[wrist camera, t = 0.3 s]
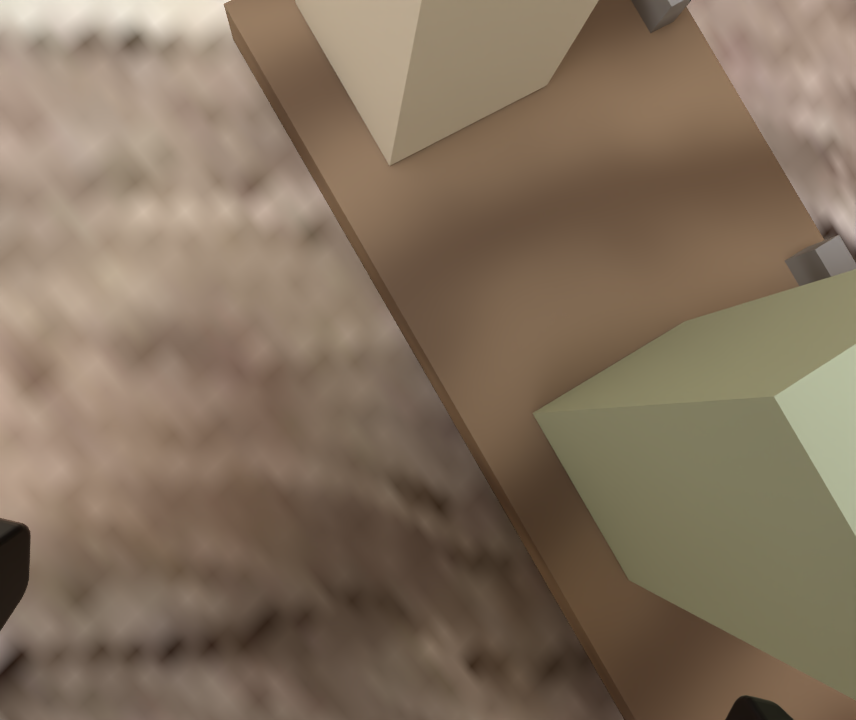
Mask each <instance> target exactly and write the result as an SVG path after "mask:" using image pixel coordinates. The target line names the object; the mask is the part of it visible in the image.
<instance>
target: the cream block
mask: <svg viewBox="0 0 856 720" xmlns="http://www.w3.org/2000/svg"><path fill="white" fill-rule="evenodd" d="M598 1H599V0H295V2H296V5H297V7H298V8H299V10H300V12H301V13H302V15H303V17H304V19H305V20H306V22H307V24H308V26H309V27H310V29H311V31H312V33H313V34H314V36H315V38H316V39H317V41H318V43H319V45H320V46H321V48H322V50H323V52H324V53H325V55H326V57H327V58H328V60H329V62H330V64H331V65H332V67H333V69H334V71H335V72H336V74H337V76H338V78H339V79H340V81H341V83H342V84H343V86H344V88H345V90H346V91H347V93H348V95H349V97H350V98H351V100H352V102H353V103H354V105H355V107H356V109H357V110H358V112H359V114H360V116H361V117H362V119H363V121H364V123H365V124H366V126H367V128H368V129H369V131H370V133H371V135H372V136H373V138H374V140H375V142H376V143H377V145H378V147H379V148H380V150H381V152H382V154H383V155H384V157H385V159H386V161H387V162H388V164H389V166H390V165H392V164H394V163H396V162H398V161H400V160H402V159H404V158H406V157H408V156H410V155H412V154H414V153H416V152H418V151H420V150H422V149H424V148H426V147H427V146H429V145H431V144H433V143H435V142H437V141H439V140H441V139H443V138H445V137H447V136H449V135H451V134H453V133H455V132H457V131H459V130H461V129H463V128H465V127H466V126H468V125H470V124H472V123H474V122H476V121H478V120H480V119H482V118H484V117H486V116H488V115H490V114H492V113H494V112H496V111H498V110H500V109H502V108H504V107H506V106H507V105H509V104H511V103H513V102H515V101H517V100H519V99H521V98H523V97H525V96H527V95H529V94H531V93H533V92H535V91H537V90H539V89H541V88H543V87H545V86H546V85H547V84H548V83H549V81H550V79H551V78H552V76H553V75H554V73H555V71H556V70H557V68H558V66H559V65H560V63H561V61H562V60H563V58H564V56H565V55H566V53H567V52H568V50H569V48H570V47H571V45H572V43H573V42H574V40H575V38H576V37H577V35H578V34H579V32H580V30H581V29H582V27H583V25H584V24H585V22H586V20H587V19H588V17H589V15H590V14H591V12H592V11H593V9H594V7H595V6H596V4H597V2H598Z"/></svg>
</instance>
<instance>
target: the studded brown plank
mask: <svg viewBox="0 0 856 720" xmlns="http://www.w3.org/2000/svg"><path fill="white" fill-rule="evenodd" d="M690 1H691V0H599V1H598V2H597V4H596V6H595V7H594V9H593V11H592V12H591V14H590V15H589V17H588V19H587V20H586V22H585V24H584V25H583V27H582V29H581V30H580V32H579V34H578V35H577V37H576V38H575V40H574V42H573V43H572V45H571V47H570V48H569V50H568V52H567V53H566V55H565V56H564V58H563V60H562V61H561V63H560V65H559V66H558V68H557V70H556V71H555V73H554V75H553V76H552V78H551V79H550V81H549V83H548V84H547V85H546V86H545V87H543V88H541V89H539V90H537V91H535V92H533V93H531V94H529V95H527V96H525V97H523V98H521V99H519V100H517V101H515V102H513V103H511V104H509V105H507V106H506V107H504V108H502V109H500V110H498V111H496V112H494V113H492V114H490V115H488V116H486V117H484V118H482V119H480V120H478V121H476V122H474V123H472V124H470V125H468V126H466V127H465V128H463V129H461V130H459V131H457V132H455V133H453V134H451V135H449V136H447V137H445V138H443V139H441V140H439V141H437V142H435V143H433V144H431V145H429V146H427V147H426V148H424V149H422V150H420V151H418V152H416V153H414V154H412V155H410V156H408V157H406V158H404V159H402V160H400V161H398V162H396V163H394V164H392V165H390V166H389V164H388V162H387V161H386V159H385V157H384V155H383V154H382V152H381V150H380V148H379V147H378V145H377V143H376V142H375V140H374V138H373V136H372V135H371V133H370V131H369V129H368V128H367V126H366V124H365V123H364V121H363V119H362V117H361V116H360V114H359V112H358V110H357V109H356V107H355V105H354V103H353V102H352V100H351V98H350V97H349V95H348V93H347V91H346V90H345V88H344V86H343V84H342V83H341V81H340V79H339V78H338V76H337V74H336V72H335V71H334V69H333V67H332V65H331V64H330V62H329V60H328V58H327V57H326V55H325V53H324V52H323V50H322V48H321V46H320V45H319V43H318V41H317V39H316V38H315V36H314V34H313V33H312V31H311V29H310V27H309V26H308V24H307V22H306V20H305V19H304V17H303V15H302V13H301V12H300V10H299V8H298V7H297V5H296V2H295V0H231V1H229V2H227V3H225V4H224V7H225V10H226V14H227V18H228V21H229V25H230V29H231V32H232V36H233V40H234V41H235V43H236V45H237V47H238V48H239V50H240V52H241V54H242V55H243V57H244V59H245V61H246V62H247V64H248V66H249V67H250V69H251V71H252V73H253V74H254V76H255V78H256V80H257V81H258V83H259V85H260V87H261V88H262V90H263V92H264V94H265V95H266V97H267V99H268V101H269V102H270V104H271V106H272V107H273V109H274V111H275V113H276V114H277V116H278V118H279V120H280V121H281V123H282V125H283V127H284V128H285V130H286V132H287V134H288V135H289V137H290V139H291V141H292V142H293V144H294V146H295V147H296V149H297V151H298V153H299V154H300V156H301V158H302V160H303V161H304V163H305V165H306V167H307V168H308V170H309V172H310V174H311V175H312V177H313V179H314V181H315V182H316V184H317V186H318V187H319V189H320V191H321V193H322V194H323V196H324V198H325V200H326V201H327V203H328V205H329V207H330V208H331V210H332V212H333V214H334V215H335V217H336V219H337V221H338V222H339V224H340V226H341V227H342V229H343V231H344V233H345V234H346V236H347V238H348V240H349V241H350V243H351V245H352V247H353V248H354V250H355V252H356V254H357V255H358V257H359V259H360V261H361V262H362V264H363V266H364V268H365V269H366V271H367V273H368V274H369V276H370V278H371V280H372V281H373V283H374V285H375V287H376V288H377V290H378V292H379V294H380V295H381V297H382V299H383V301H384V302H385V304H386V306H387V308H388V309H389V311H390V313H391V314H392V316H393V318H394V320H395V321H396V323H397V325H398V327H399V328H400V330H401V332H402V334H403V335H404V337H405V339H406V341H407V342H408V344H409V346H410V348H411V349H412V351H413V353H414V354H415V356H416V358H417V360H418V361H419V363H420V365H421V367H422V368H423V370H424V372H425V374H426V375H427V377H428V379H429V381H430V382H431V384H432V386H433V388H434V389H435V391H436V393H437V394H438V396H439V398H440V400H441V401H442V403H443V405H444V407H445V408H446V410H447V412H448V414H449V415H450V417H451V419H452V421H453V422H454V424H455V426H456V428H457V429H458V431H459V433H460V434H461V436H462V438H463V440H464V441H465V443H466V445H467V447H468V448H469V450H470V452H471V454H472V455H473V457H474V459H475V461H476V462H477V464H478V466H479V468H480V469H481V471H482V473H483V474H484V476H485V478H486V480H487V481H488V483H489V485H490V487H491V488H492V490H493V492H494V494H495V495H496V497H497V499H498V501H499V502H500V504H501V506H502V508H503V509H504V511H505V513H506V514H507V516H508V518H509V520H510V521H511V523H512V525H513V527H514V528H515V530H516V532H517V534H518V535H519V537H520V539H521V541H522V542H523V544H524V546H525V548H526V549H527V551H528V553H529V554H530V556H531V558H532V560H533V561H534V563H535V565H536V567H537V568H538V570H539V572H540V574H541V575H542V577H543V579H544V581H545V582H546V584H547V586H548V588H549V589H550V591H551V593H552V594H553V596H554V598H555V600H556V601H557V603H558V605H559V607H560V608H561V610H562V612H563V614H564V615H565V617H566V619H567V621H568V622H569V624H570V626H571V628H572V629H573V631H574V633H575V634H576V636H577V638H578V640H579V641H580V643H581V645H582V647H583V648H584V650H585V652H586V654H587V655H588V657H589V659H590V661H591V662H592V664H593V666H594V668H595V669H596V671H597V673H598V674H599V676H600V678H601V680H602V681H603V683H604V685H605V687H606V688H607V690H608V692H609V694H610V695H611V697H612V699H613V701H614V702H615V704H616V706H617V708H618V709H619V711H620V713H621V714H622V716H623V718H624V720H725V719H726V717H727V715H728V713H729V711H730V710H731V708H732V706H733V704H734V702H735V701H736V699H738V698H739V697H740V696H743V695H749V696H753V697H757V698H762V699H766V700H770V701H773V702H775V703H776V704H778V705H779V706H780V707H781V708H782V709H783V710H784V711H785V712H786V713H787V714H789V715H790V716H791V717H792V718H793V719H794V720H856V700H854V699H852V698H850V697H848V696H846V695H844V694H843V693H841V692H839V691H837V690H835V689H833V688H831V687H829V686H827V685H826V684H824V683H822V682H820V681H818V680H816V679H814V678H812V677H810V676H809V675H807V674H805V673H803V672H801V671H799V670H797V669H795V668H793V667H792V666H790V665H788V664H786V663H784V662H782V661H780V660H778V659H776V658H775V657H773V656H771V655H769V654H767V653H765V652H763V651H761V650H760V649H758V648H756V647H754V646H752V645H750V644H748V643H746V642H744V641H743V640H741V639H739V638H737V637H735V636H733V635H731V634H729V633H727V632H726V631H724V630H722V629H720V628H718V627H716V626H714V625H712V624H710V623H709V622H707V621H705V620H703V619H701V618H699V617H697V616H695V615H694V614H692V613H690V612H688V611H686V610H684V609H682V608H680V607H678V606H677V605H675V604H673V603H671V602H669V601H667V600H665V599H663V598H661V597H660V596H658V595H656V594H654V593H652V592H650V591H648V590H646V589H644V588H643V587H641V586H639V585H637V584H635V583H633V582H631V581H629V579H628V578H627V576H626V574H625V573H624V571H623V569H622V567H621V566H620V564H619V562H618V560H617V559H616V557H615V555H614V554H613V552H612V550H611V548H610V547H609V545H608V543H607V541H606V540H605V538H604V536H603V534H602V533H601V531H600V529H599V528H598V526H597V524H596V522H595V521H594V519H593V517H592V515H591V514H590V512H589V510H588V509H587V507H586V505H585V503H584V502H583V500H582V498H581V496H580V495H579V493H578V491H577V489H576V488H575V486H574V484H573V483H572V481H571V479H570V477H569V476H568V474H567V472H566V470H565V469H564V467H563V465H562V464H561V462H560V460H559V458H558V457H557V455H556V453H555V451H554V450H553V448H552V446H551V444H550V443H549V441H548V439H547V438H546V436H545V434H544V432H543V431H542V429H541V427H540V425H539V424H538V422H537V420H536V419H535V417H534V415H533V413H534V412H535V411H537V410H539V409H540V408H542V407H544V406H545V405H547V404H548V403H550V402H552V401H553V400H555V399H557V398H558V397H560V396H562V395H563V394H565V393H567V392H568V391H570V390H572V389H573V388H575V387H577V386H578V385H580V384H582V383H583V382H585V381H587V380H588V379H590V378H592V377H593V376H595V375H597V374H598V373H600V372H602V371H603V370H605V369H607V368H608V367H610V366H612V365H613V364H615V363H616V362H618V361H620V360H621V359H623V358H625V357H626V356H628V355H630V354H631V353H633V352H635V351H636V350H638V349H640V348H641V347H643V346H645V345H646V344H648V343H650V342H651V341H653V340H655V339H656V338H658V337H660V336H661V335H663V334H665V333H666V332H668V331H670V330H671V329H673V328H675V327H676V326H678V325H680V324H681V323H683V322H684V321H687V320H691V319H694V318H697V317H700V316H704V315H707V314H710V313H714V312H717V311H720V310H723V309H727V308H730V307H733V306H737V305H740V304H743V303H746V302H750V301H753V300H756V299H760V298H763V297H766V296H769V295H773V294H776V293H779V292H783V291H786V290H789V289H792V288H796V287H799V286H802V285H806V284H809V283H812V282H815V281H819V280H822V279H825V278H829V277H832V276H835V275H838V274H842V273H845V272H848V271H852V270H855V269H856V263H855V261H854V259H853V258H852V256H851V254H850V253H849V251H848V249H847V248H846V246H845V244H844V243H843V241H842V239H841V237H840V236H839V235H837V236H835V237H832V238H830V239H827V240H824V239H823V237H822V236H821V234H820V232H819V230H818V229H817V227H816V225H815V224H814V222H813V220H812V219H811V217H810V215H809V214H808V212H807V210H806V208H805V207H804V205H803V203H802V202H801V200H800V198H799V197H798V195H797V193H796V192H795V190H794V188H793V186H792V185H791V183H790V181H789V180H788V178H787V176H786V175H785V173H784V171H783V169H782V168H781V166H780V164H779V163H778V161H777V159H776V158H775V156H774V154H773V153H772V151H771V149H770V147H769V146H768V144H767V142H766V141H765V139H764V137H763V136H762V134H761V132H760V131H759V129H758V127H757V125H756V124H755V122H754V120H753V119H752V117H751V115H750V114H749V112H748V110H747V109H746V107H745V105H744V103H743V102H742V100H741V98H740V97H739V95H738V93H737V92H736V90H735V88H734V87H733V85H732V83H731V81H730V80H729V78H728V76H727V75H726V73H725V71H724V70H723V68H722V66H721V65H720V63H719V61H718V59H717V58H716V56H715V54H714V53H713V51H712V49H711V48H710V46H709V44H708V43H707V41H706V39H705V37H704V36H703V34H702V32H701V31H700V29H699V27H698V26H697V24H696V22H695V21H694V19H693V17H692V15H691V14H690V12H689V10H688V9H687V7H686V6H687V5H688V4H689V2H690Z"/></svg>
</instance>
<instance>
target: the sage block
mask: <svg viewBox="0 0 856 720" xmlns="http://www.w3.org/2000/svg"><path fill="white" fill-rule="evenodd" d="M533 415H534V417H535V419H536V420H537V422H538V424H539V425H540V427H541V429H542V431H543V432H544V434H545V436H546V438H547V439H548V441H549V443H550V444H551V446H552V448H553V450H554V451H555V453H556V455H557V457H558V458H559V460H560V462H561V464H562V465H563V467H564V469H565V470H566V472H567V474H568V476H569V477H570V479H571V481H572V483H573V484H574V486H575V488H576V489H577V491H578V493H579V495H580V496H581V498H582V500H583V502H584V503H585V505H586V507H587V509H588V510H589V512H590V514H591V515H592V517H593V519H594V521H595V522H596V524H597V526H598V528H599V529H600V531H601V533H602V534H603V536H604V538H605V540H606V541H607V543H608V545H609V547H610V548H611V550H612V552H613V554H614V555H615V557H616V559H617V560H618V562H619V564H620V566H621V567H622V569H623V571H624V573H625V574H626V576H627V578H628V579H629V581H631V582H633V583H635V584H637V585H639V586H641V587H643V588H644V589H646V590H648V591H650V592H652V593H654V594H656V595H658V596H660V597H661V598H663V599H665V600H667V601H669V602H671V603H673V604H675V605H677V606H678V607H680V608H682V609H684V610H686V611H688V612H690V613H692V614H694V615H695V616H697V617H699V618H701V619H703V620H705V621H707V622H709V623H710V624H712V625H714V626H716V627H718V628H720V629H722V630H724V631H726V632H727V633H729V634H731V635H733V636H735V637H737V638H739V639H741V640H743V641H744V642H746V643H748V644H750V645H752V646H754V647H756V648H758V649H760V650H761V651H763V652H765V653H767V654H769V655H771V656H773V657H775V658H776V659H778V660H780V661H782V662H784V663H786V664H788V665H790V666H792V667H793V668H795V669H797V670H799V671H801V672H803V673H805V674H807V675H809V676H810V677H812V678H814V679H816V680H818V681H820V682H822V683H824V684H826V685H827V686H829V687H831V688H833V689H835V690H837V691H839V692H841V693H843V694H844V695H846V696H848V697H850V698H852V699H854V700H856V269H855V270H852V271H848V272H845V273H842V274H838V275H835V276H832V277H829V278H825V279H822V280H819V281H815V282H812V283H809V284H806V285H802V286H799V287H796V288H792V289H789V290H786V291H783V292H779V293H776V294H773V295H769V296H766V297H763V298H760V299H756V300H753V301H750V302H746V303H743V304H740V305H737V306H733V307H730V308H727V309H723V310H720V311H717V312H714V313H710V314H707V315H704V316H700V317H697V318H694V319H691V320H687V321H684V322H683V323H681V324H680V325H678V326H676V327H675V328H673V329H671V330H670V331H668V332H666V333H665V334H663V335H661V336H660V337H658V338H656V339H655V340H653V341H651V342H650V343H648V344H646V345H645V346H643V347H641V348H640V349H638V350H636V351H635V352H633V353H631V354H630V355H628V356H626V357H625V358H623V359H621V360H620V361H618V362H616V363H615V364H613V365H612V366H610V367H608V368H607V369H605V370H603V371H602V372H600V373H598V374H597V375H595V376H593V377H592V378H590V379H588V380H587V381H585V382H583V383H582V384H580V385H578V386H577V387H575V388H573V389H572V390H570V391H568V392H567V393H565V394H563V395H562V396H560V397H558V398H557V399H555V400H553V401H552V402H550V403H548V404H547V405H545V406H544V407H542V408H540V409H539V410H537V411H535V412H534V413H533Z"/></svg>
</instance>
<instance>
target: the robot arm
mask: <svg viewBox="0 0 856 720" xmlns="http://www.w3.org/2000/svg"><path fill="white" fill-rule="evenodd" d="M29 565H30V530H29V528H28V527H27V526H26V525H25V524H23V523H19V522H15V521H11V520H6V519H2V518H0V631H1V629H2V628H3V626H4V625H5V623H6V622H7V620H8V619H9V617H10V615H11V614H12V612H13V611H14V609H15V608H16V606H17V605H18V603H19V602H20V600H21V598H22V597H23V595H24V593H25V591H26V588H27V585H28V581H29ZM725 720H794V719H793V718H792V717H791V716H790V715H789V714H787V713H786V712H785V711H784V710H783V709H782V708H781V707H780V706H779V705H778V704H776V703H775V702H773V701H770V700H766V699H762V698H757V697H753V696H749V695H743V696H740V697H739V698H738V699H736V701H735V702H734V704H733V706H732V708H731V710H730V711H729V713H728V715H727V717H726V719H725Z"/></svg>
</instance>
